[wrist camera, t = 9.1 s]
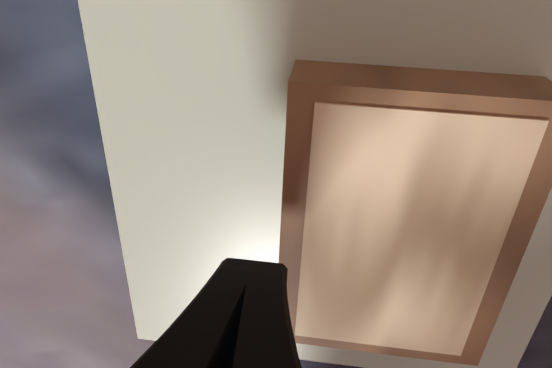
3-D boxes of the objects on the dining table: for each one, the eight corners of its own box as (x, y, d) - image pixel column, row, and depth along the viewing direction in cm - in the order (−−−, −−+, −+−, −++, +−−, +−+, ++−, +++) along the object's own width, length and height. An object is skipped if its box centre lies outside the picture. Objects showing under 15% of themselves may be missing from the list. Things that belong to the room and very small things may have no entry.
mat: (502, 372, 16) (507, 386, 16) (143, 326, 17) (137, 338, 17) (751, -170, 8) (779, -178, 8) (59, -184, 9) (44, -190, 9)
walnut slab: (281, 293, 15) (460, 314, 14) (274, 342, 13) (478, 367, 12) (295, 59, 11) (544, 76, 10) (287, 82, 9) (587, 104, 9)
